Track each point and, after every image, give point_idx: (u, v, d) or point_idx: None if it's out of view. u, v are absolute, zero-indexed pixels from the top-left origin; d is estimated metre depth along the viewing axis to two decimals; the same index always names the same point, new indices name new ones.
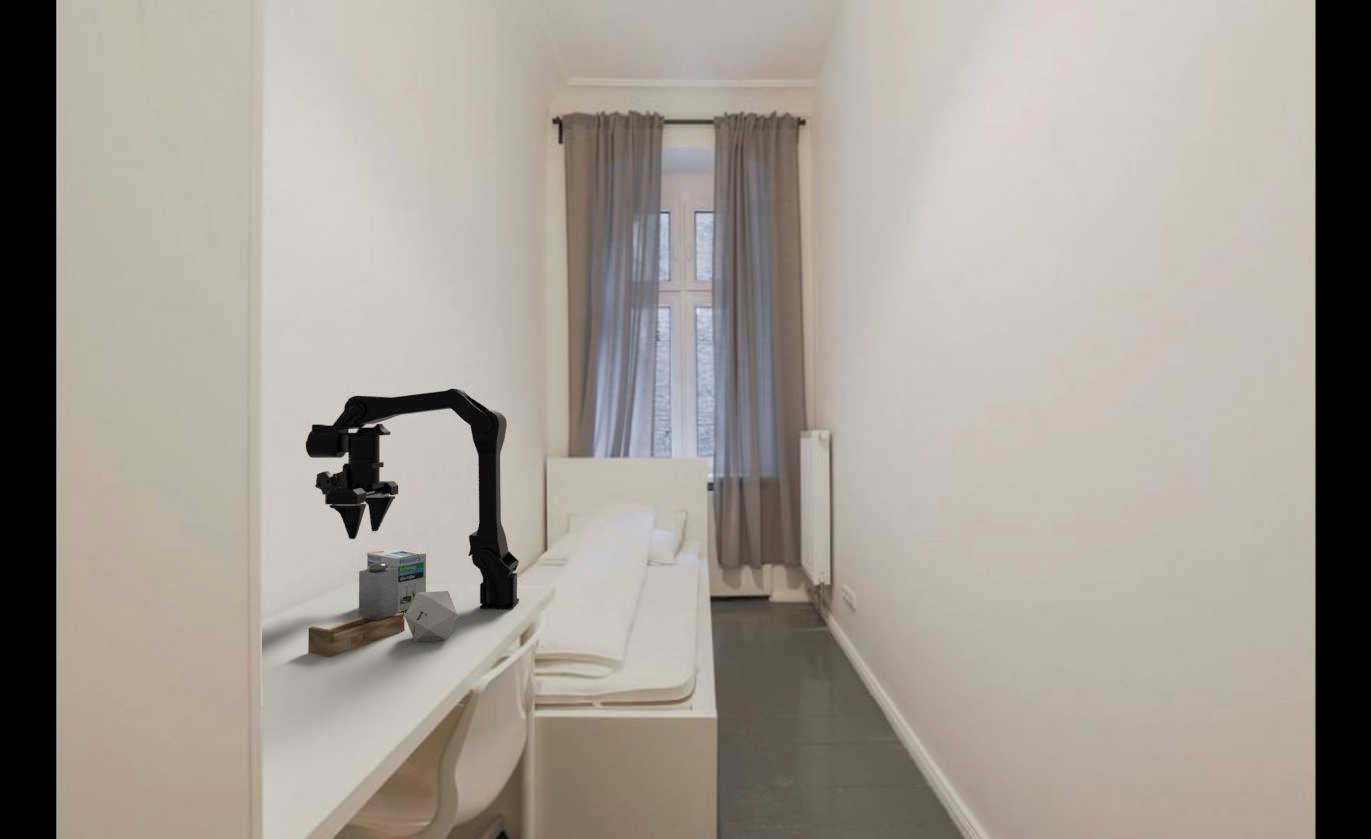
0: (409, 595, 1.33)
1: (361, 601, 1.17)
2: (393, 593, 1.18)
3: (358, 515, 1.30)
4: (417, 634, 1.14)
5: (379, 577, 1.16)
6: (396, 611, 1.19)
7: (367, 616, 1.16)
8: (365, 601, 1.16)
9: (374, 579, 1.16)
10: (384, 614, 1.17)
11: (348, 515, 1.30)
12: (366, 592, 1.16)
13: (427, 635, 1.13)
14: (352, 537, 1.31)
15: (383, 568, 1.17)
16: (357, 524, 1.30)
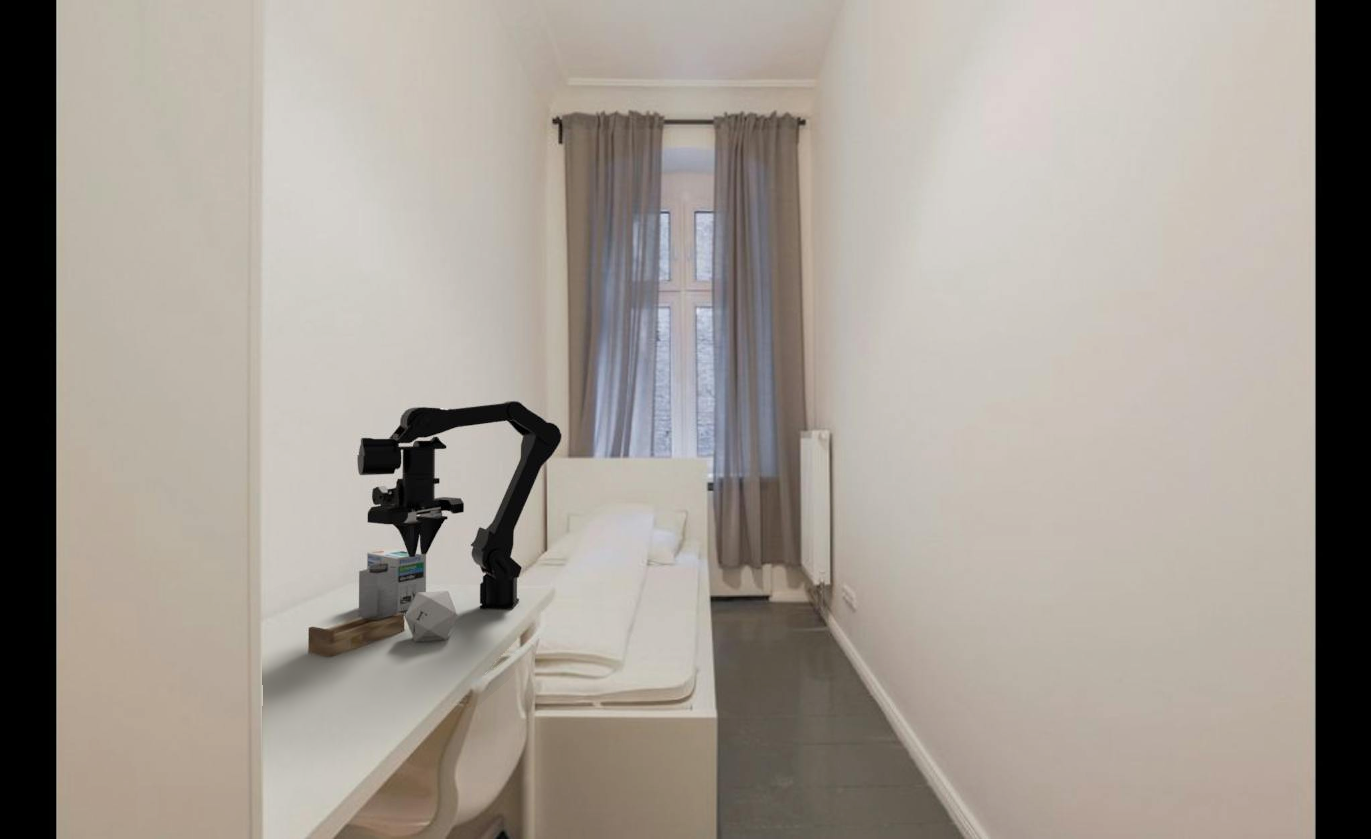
0: (409, 595, 1.33)
1: (361, 601, 1.17)
2: (393, 593, 1.18)
3: (413, 533, 1.24)
4: (417, 634, 1.14)
5: (379, 577, 1.16)
6: (396, 611, 1.19)
7: (367, 616, 1.16)
8: (365, 601, 1.16)
9: (374, 579, 1.16)
10: (384, 614, 1.17)
11: (406, 532, 1.25)
12: (366, 592, 1.16)
13: (427, 635, 1.13)
14: (411, 555, 1.26)
15: (383, 568, 1.17)
16: (413, 542, 1.25)
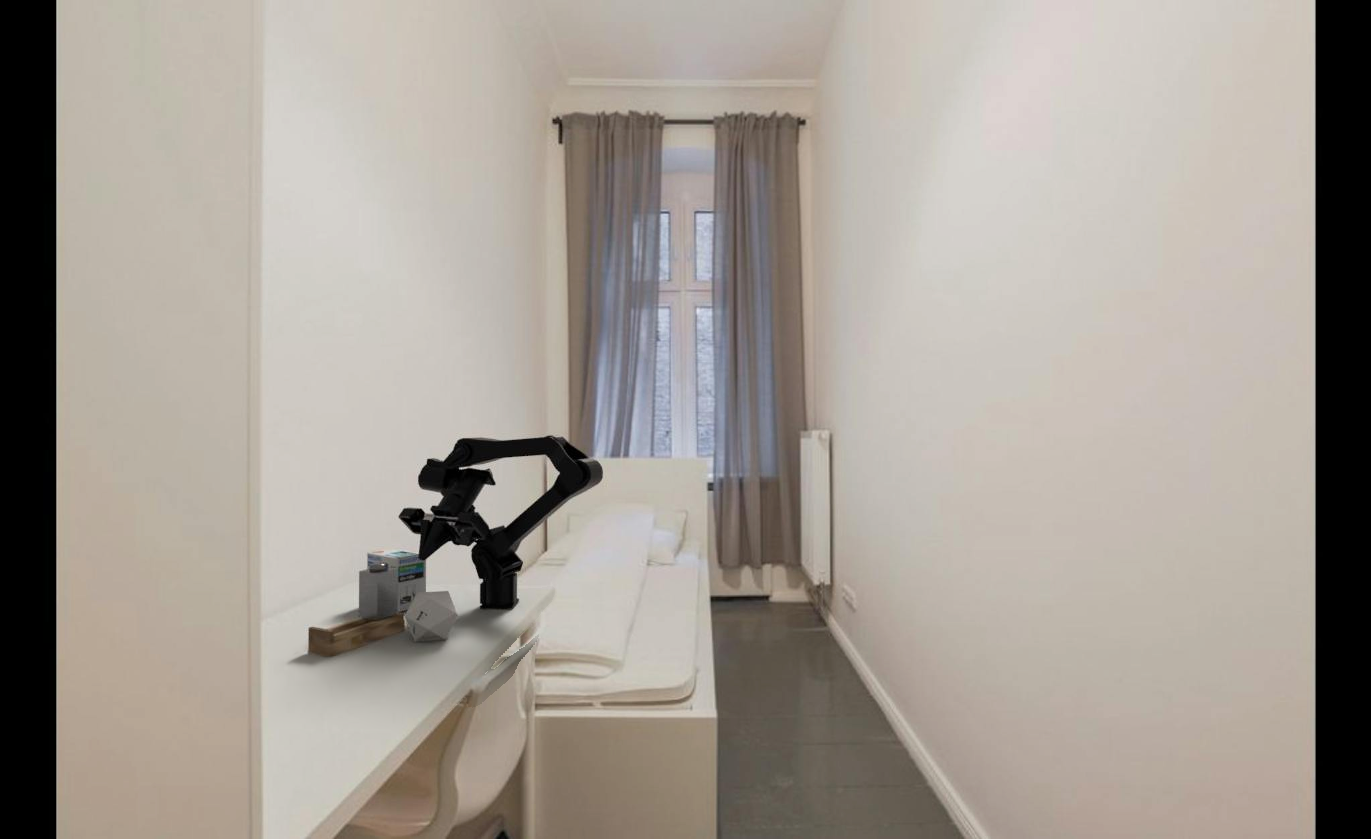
0: (409, 595, 1.33)
1: (361, 601, 1.17)
2: (393, 593, 1.18)
3: None
4: (417, 634, 1.14)
5: (379, 577, 1.16)
6: (396, 611, 1.19)
7: (367, 616, 1.16)
8: (365, 601, 1.16)
9: (374, 579, 1.16)
10: (384, 614, 1.17)
11: None
12: (366, 592, 1.16)
13: (427, 635, 1.13)
14: None
15: (383, 568, 1.17)
16: (420, 541, 1.28)
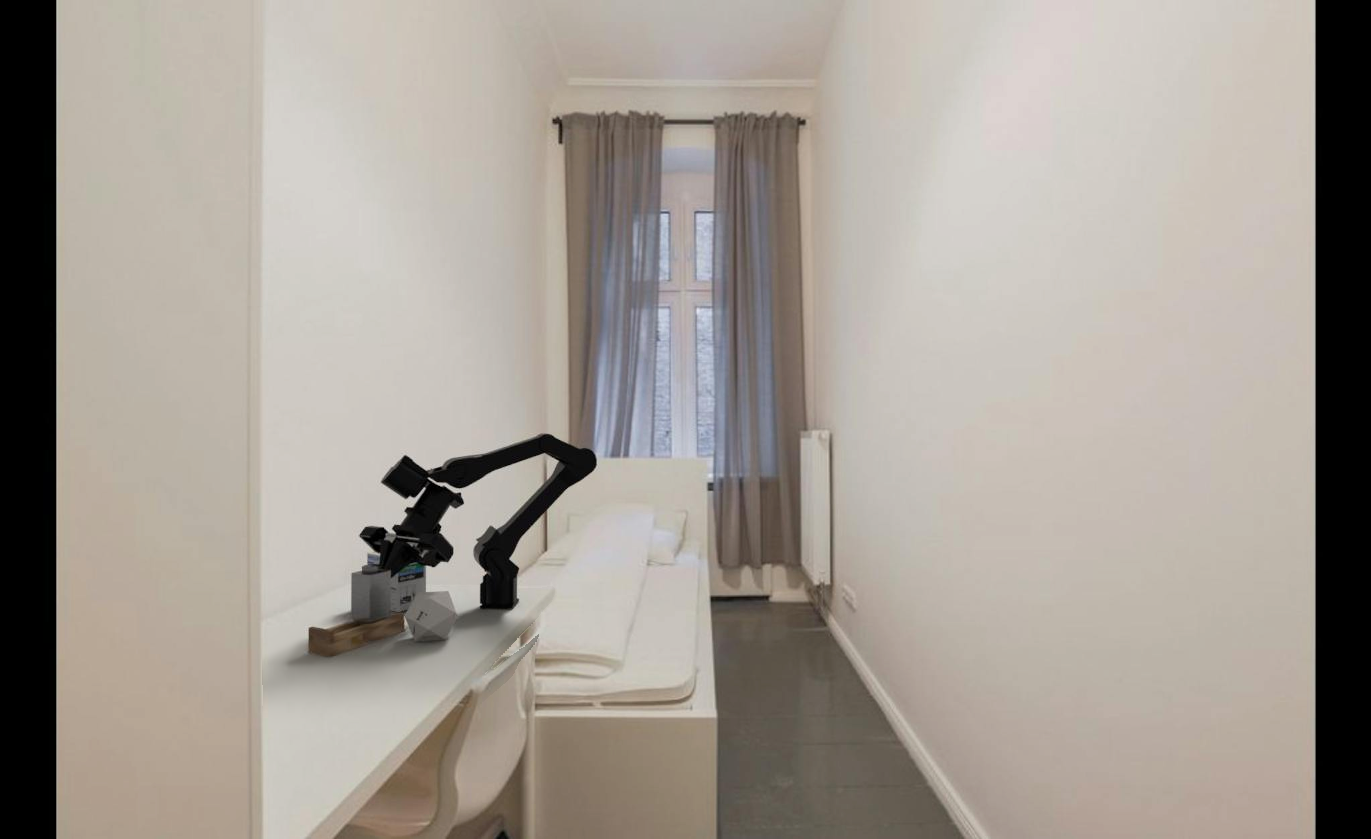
0: (409, 595, 1.33)
1: (353, 604, 1.15)
2: (386, 595, 1.17)
3: None
4: (417, 634, 1.14)
5: (371, 579, 1.14)
6: (389, 613, 1.18)
7: (359, 618, 1.15)
8: (357, 603, 1.15)
9: (367, 581, 1.14)
10: (377, 616, 1.15)
11: None
12: (359, 594, 1.15)
13: (427, 635, 1.13)
14: None
15: (376, 570, 1.16)
16: (379, 563, 1.21)
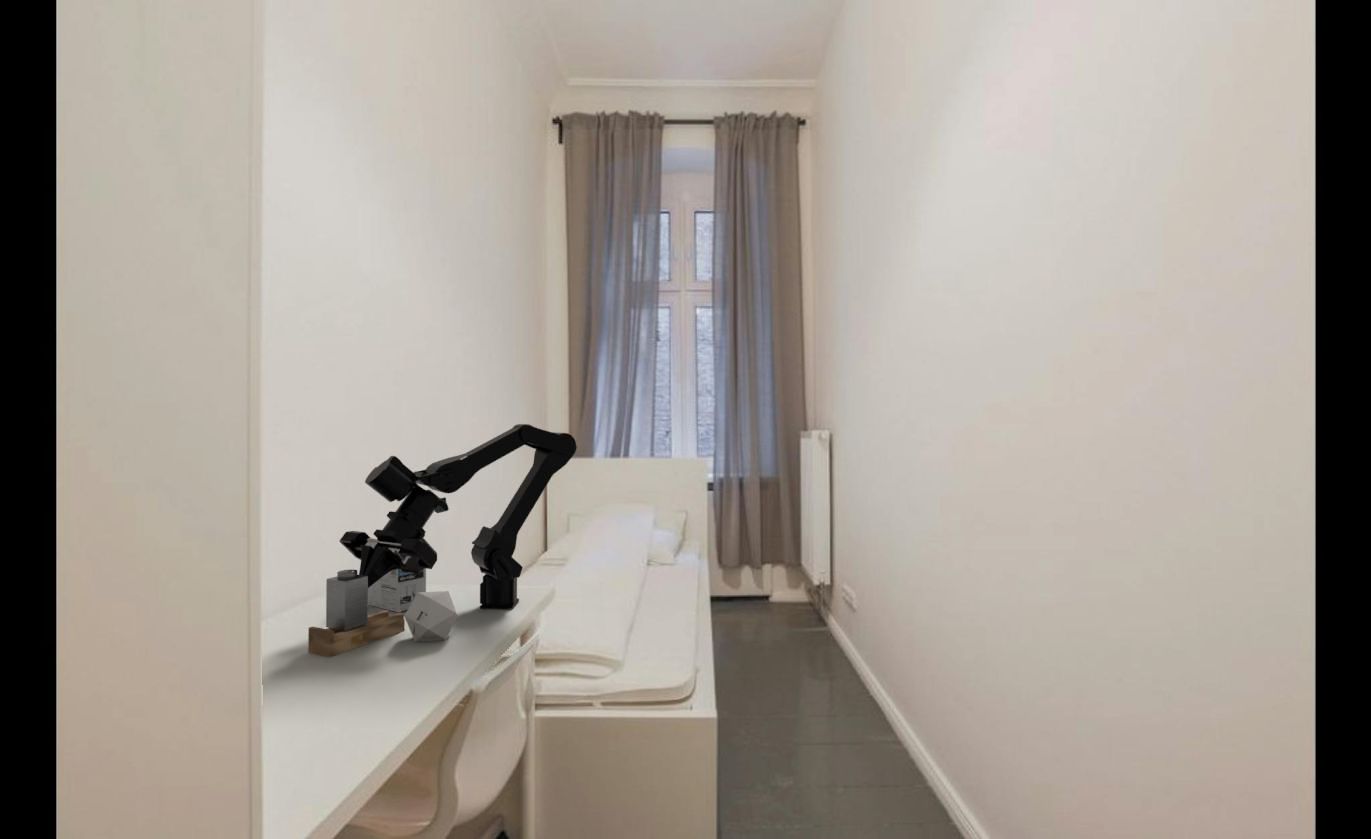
0: (409, 595, 1.33)
1: (328, 611, 1.11)
2: (363, 602, 1.13)
3: None
4: (417, 634, 1.14)
5: (347, 585, 1.10)
6: (366, 621, 1.13)
7: (335, 626, 1.10)
8: (332, 610, 1.11)
9: (342, 588, 1.10)
10: (353, 624, 1.11)
11: None
12: (334, 601, 1.10)
13: (427, 635, 1.13)
14: None
15: (352, 576, 1.12)
16: None
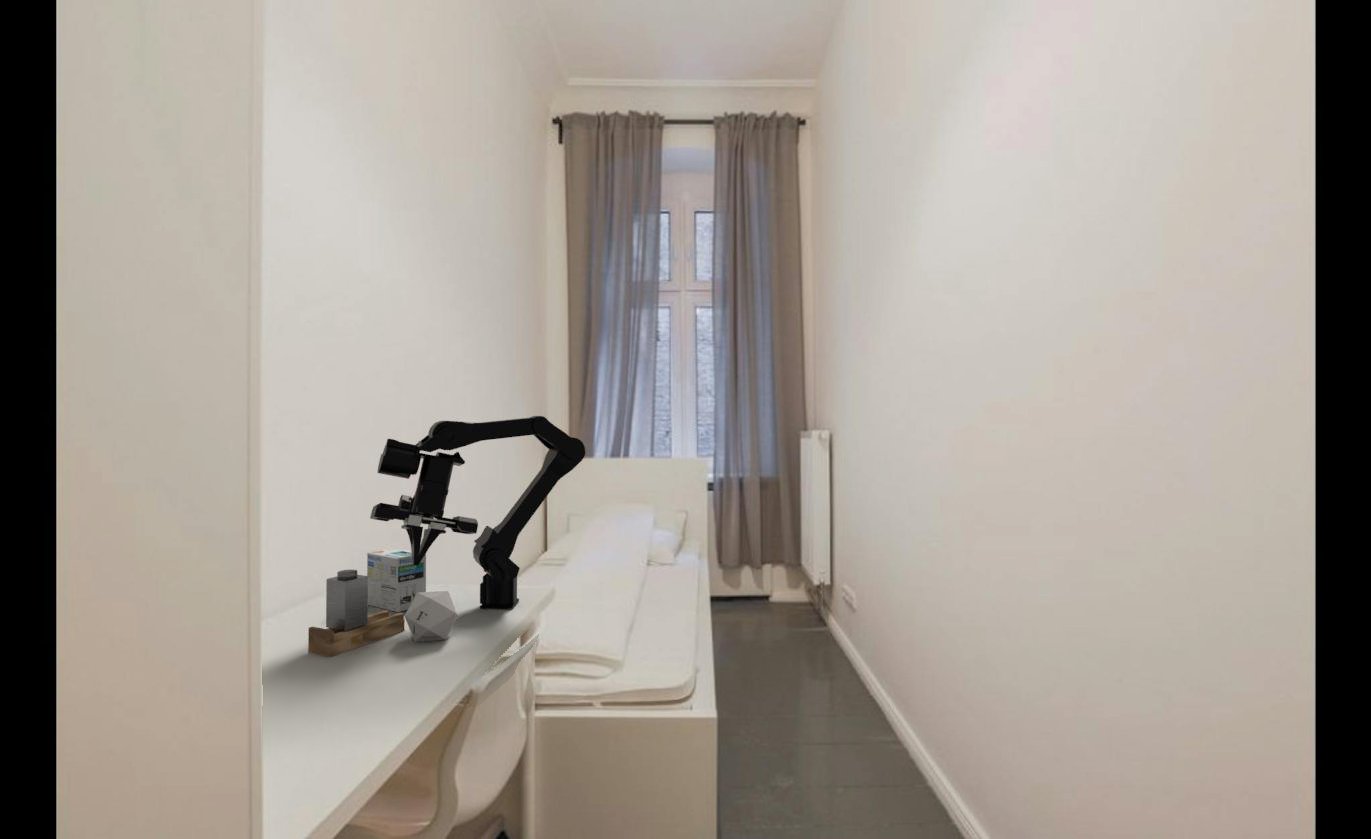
0: (409, 595, 1.33)
1: (328, 611, 1.11)
2: (363, 602, 1.13)
3: (413, 537, 1.25)
4: (417, 634, 1.14)
5: (347, 585, 1.10)
6: (366, 621, 1.13)
7: (335, 626, 1.10)
8: (332, 610, 1.11)
9: (342, 588, 1.10)
10: (353, 624, 1.11)
11: None
12: (334, 601, 1.10)
13: (427, 635, 1.13)
14: (413, 563, 1.26)
15: (352, 576, 1.12)
16: (413, 548, 1.25)
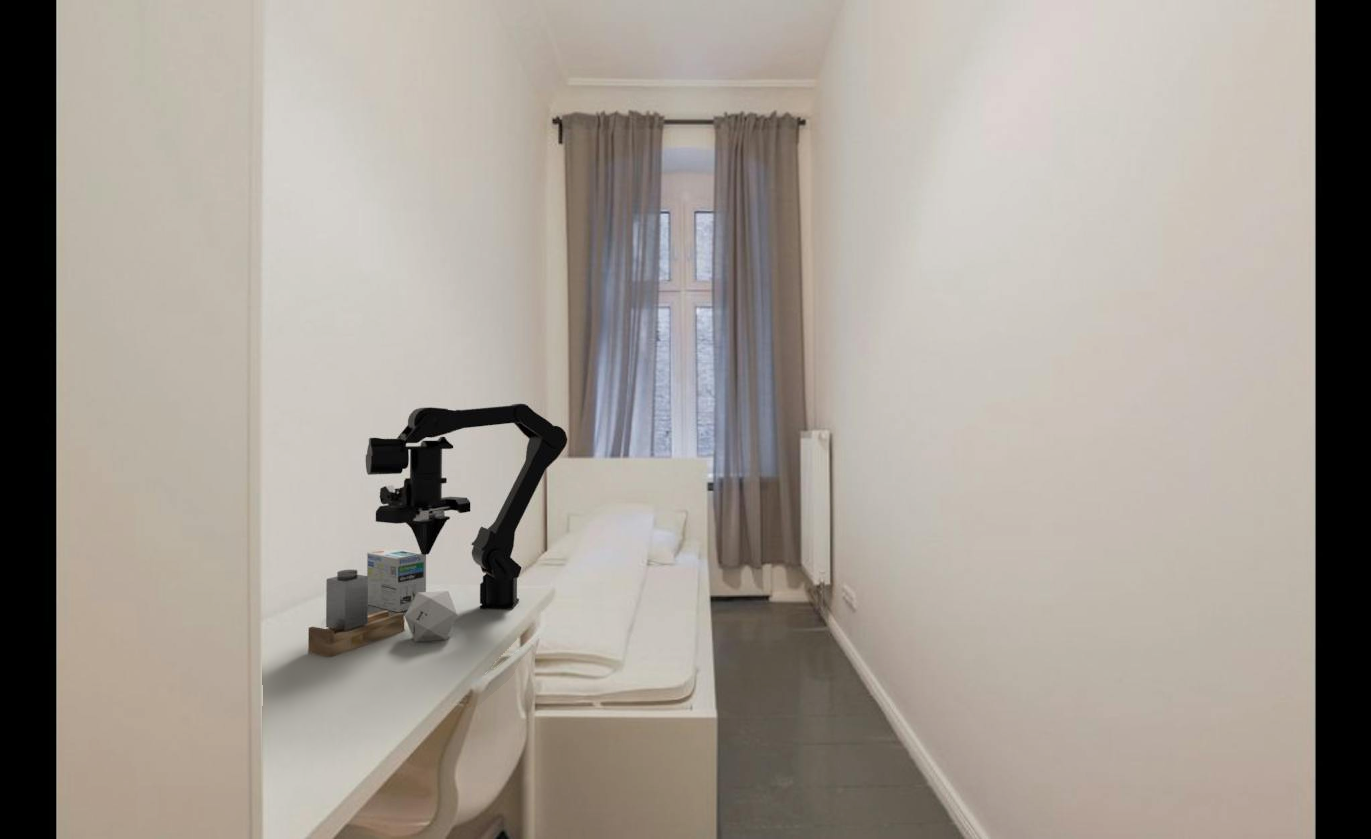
0: (409, 595, 1.33)
1: (328, 611, 1.11)
2: (363, 602, 1.13)
3: (425, 531, 1.26)
4: (417, 634, 1.14)
5: (347, 585, 1.10)
6: (366, 621, 1.13)
7: (335, 626, 1.10)
8: (332, 610, 1.11)
9: (342, 588, 1.10)
10: (353, 624, 1.11)
11: (419, 530, 1.27)
12: (334, 601, 1.10)
13: (427, 635, 1.13)
14: (423, 553, 1.28)
15: (352, 576, 1.12)
16: (426, 540, 1.27)
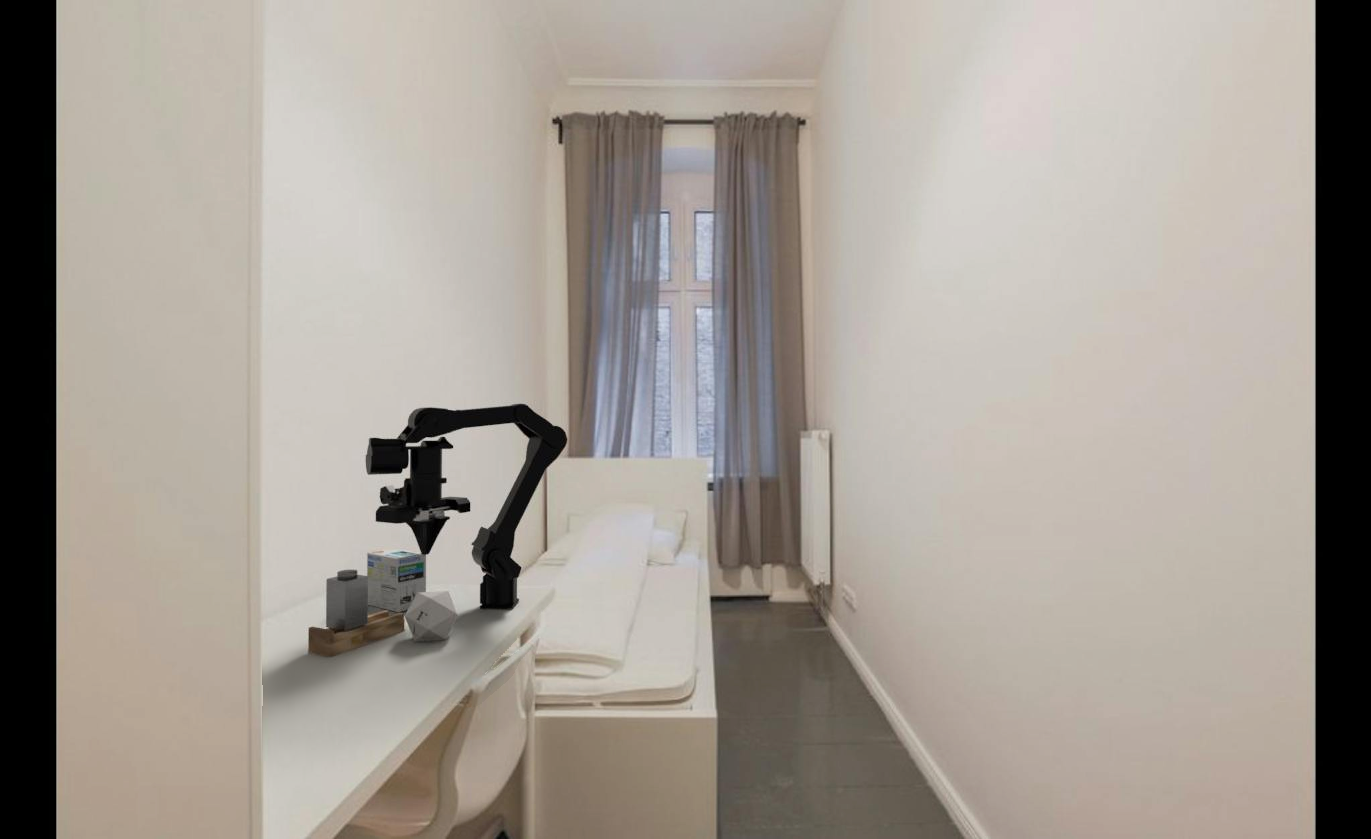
0: (409, 595, 1.33)
1: (328, 611, 1.11)
2: (363, 602, 1.13)
3: (425, 531, 1.26)
4: (417, 634, 1.14)
5: (347, 585, 1.10)
6: (366, 621, 1.13)
7: (335, 626, 1.10)
8: (332, 610, 1.11)
9: (342, 588, 1.10)
10: (353, 624, 1.11)
11: (419, 530, 1.27)
12: (334, 601, 1.10)
13: (427, 635, 1.13)
14: (423, 553, 1.28)
15: (352, 576, 1.12)
16: (426, 540, 1.27)
